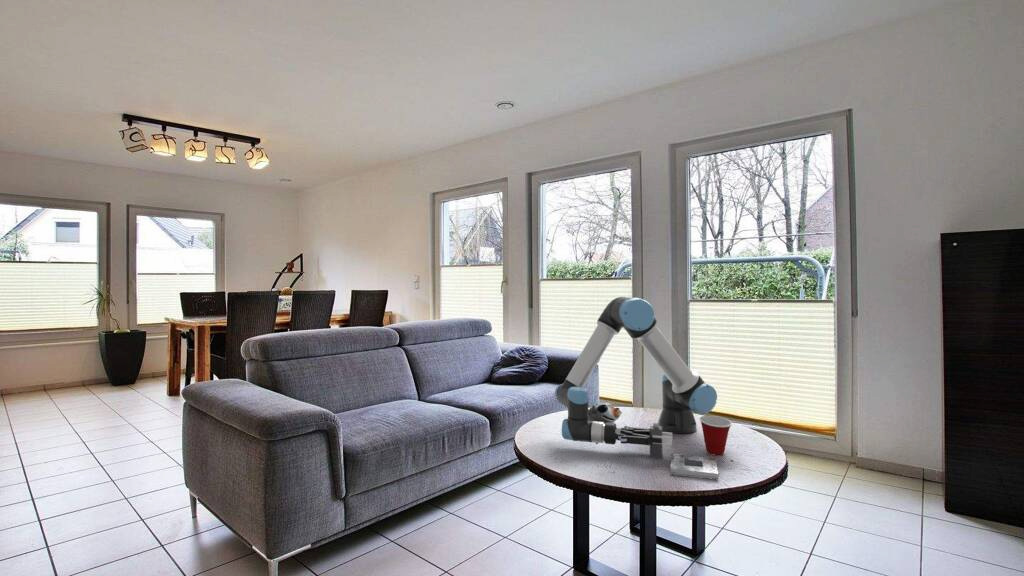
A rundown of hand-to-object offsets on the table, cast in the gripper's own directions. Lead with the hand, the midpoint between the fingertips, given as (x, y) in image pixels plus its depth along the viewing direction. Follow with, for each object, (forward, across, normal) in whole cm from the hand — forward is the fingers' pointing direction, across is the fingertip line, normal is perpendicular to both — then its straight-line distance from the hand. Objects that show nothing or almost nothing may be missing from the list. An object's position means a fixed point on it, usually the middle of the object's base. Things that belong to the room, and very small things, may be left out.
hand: (672, 438), depth 176 cm
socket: (+7, +9, -6) cm, 13 cm away
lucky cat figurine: (-29, -27, -7) cm, 40 cm away
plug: (-5, 0, -6) cm, 8 cm away
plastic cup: (+15, -9, -7) cm, 19 cm away
